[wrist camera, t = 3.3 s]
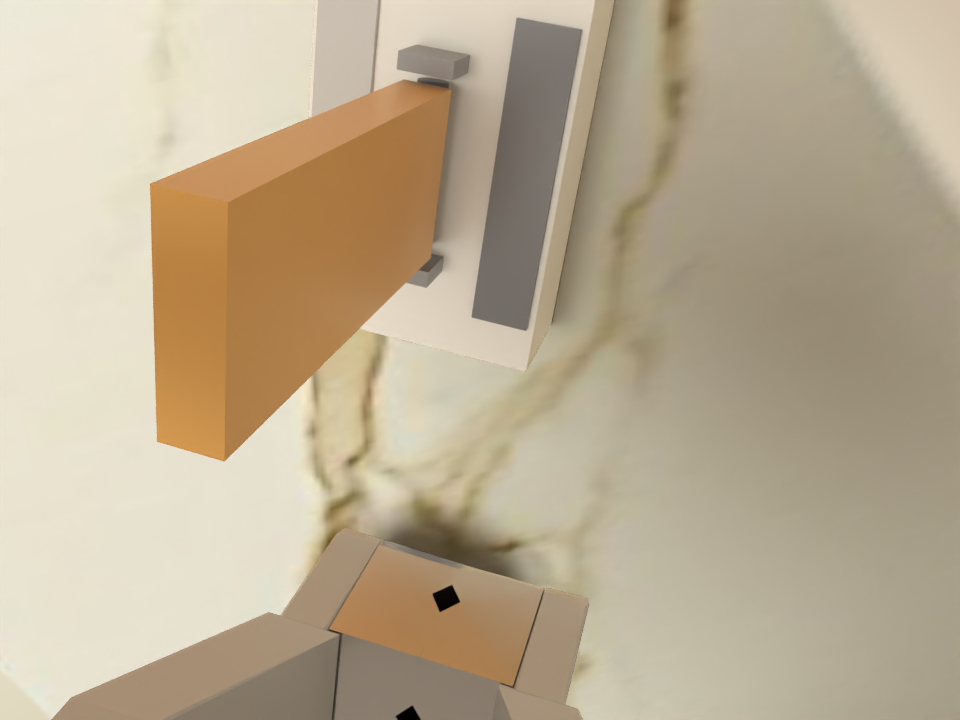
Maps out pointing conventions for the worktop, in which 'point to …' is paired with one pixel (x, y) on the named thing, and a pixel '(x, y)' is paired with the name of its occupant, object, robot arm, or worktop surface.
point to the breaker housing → (480, 153)
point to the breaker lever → (286, 256)
